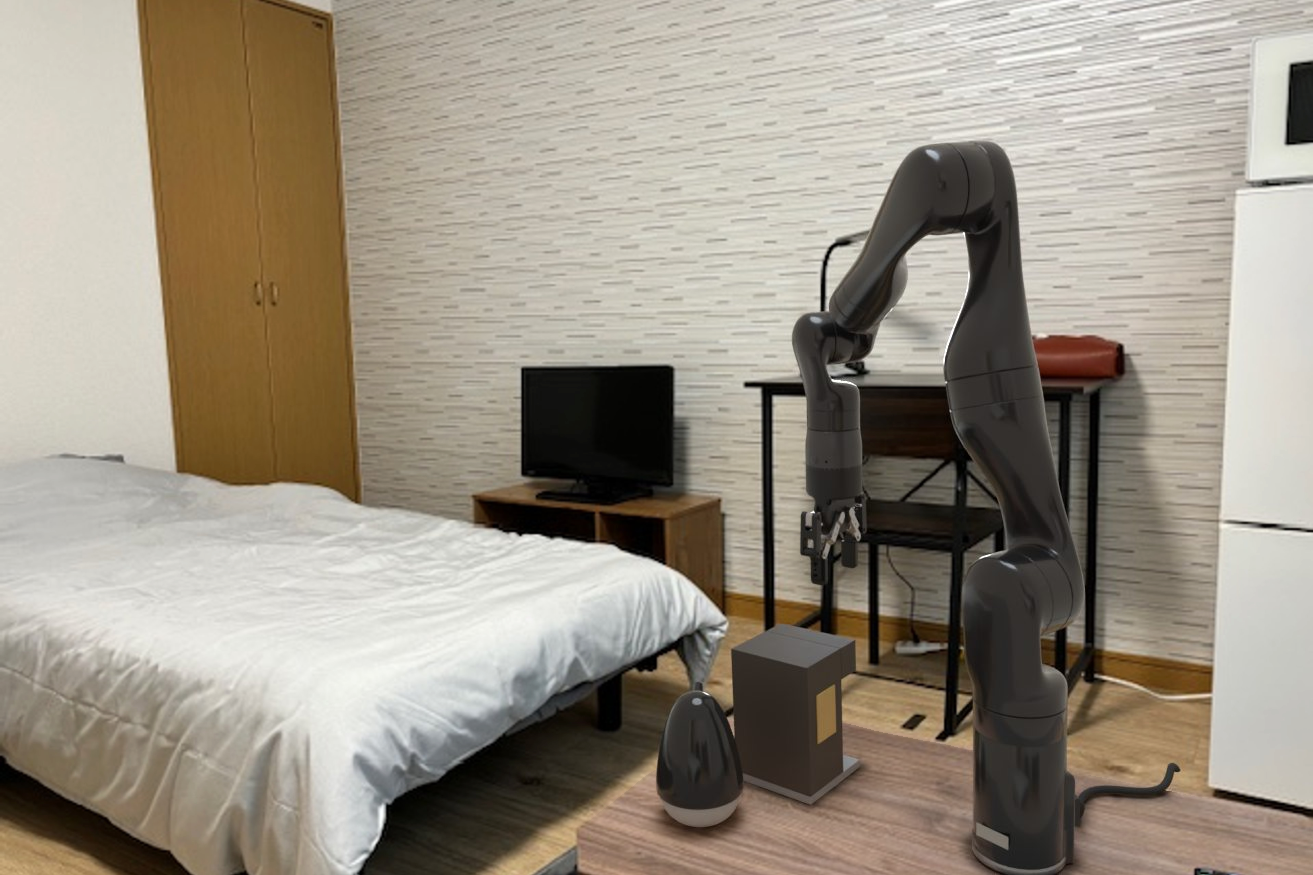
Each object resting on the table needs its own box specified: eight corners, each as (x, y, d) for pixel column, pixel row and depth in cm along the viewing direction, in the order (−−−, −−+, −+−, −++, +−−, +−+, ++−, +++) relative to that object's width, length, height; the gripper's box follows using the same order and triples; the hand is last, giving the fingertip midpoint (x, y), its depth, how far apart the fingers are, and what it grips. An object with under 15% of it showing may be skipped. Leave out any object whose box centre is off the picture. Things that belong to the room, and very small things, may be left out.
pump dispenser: (745, 792, 120) (740, 673, 118) (744, 839, 110) (739, 710, 108) (661, 791, 121) (656, 674, 119) (653, 838, 111) (646, 711, 109)
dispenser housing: (787, 743, 132) (783, 621, 130) (861, 767, 125) (858, 638, 123) (735, 777, 124) (730, 648, 121) (812, 805, 117) (808, 668, 114)
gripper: (832, 473, 125) (834, 595, 128) (883, 452, 136) (883, 565, 139) (781, 467, 130) (784, 585, 133) (834, 448, 141) (835, 557, 144)
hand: (834, 575), depth 136 cm, fingers open, 8 cm apart
